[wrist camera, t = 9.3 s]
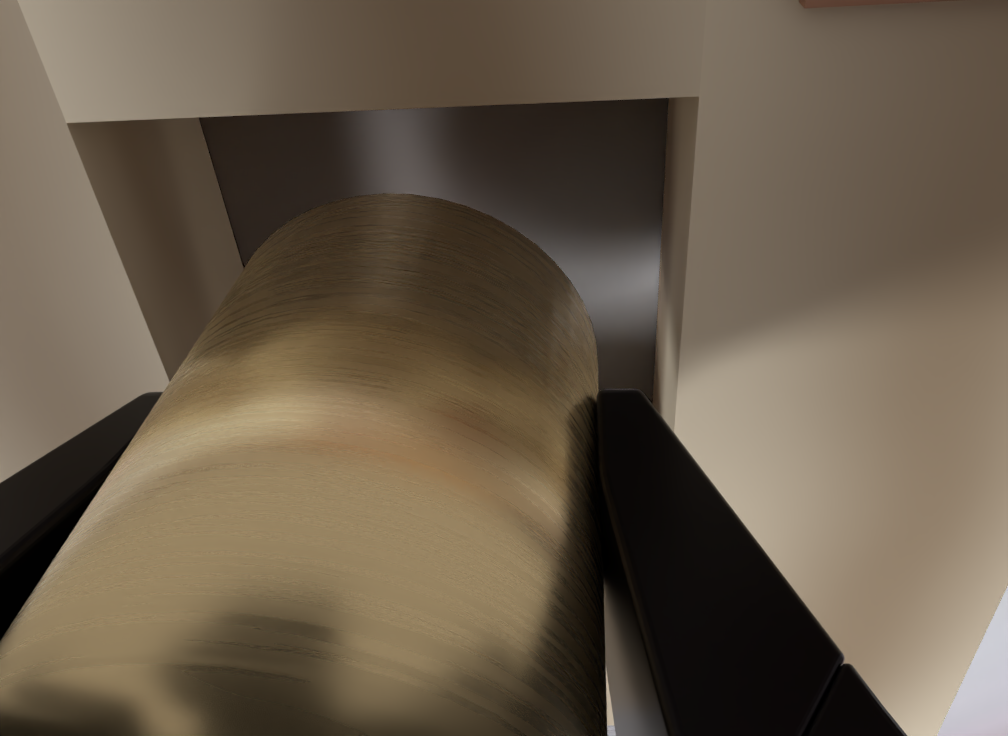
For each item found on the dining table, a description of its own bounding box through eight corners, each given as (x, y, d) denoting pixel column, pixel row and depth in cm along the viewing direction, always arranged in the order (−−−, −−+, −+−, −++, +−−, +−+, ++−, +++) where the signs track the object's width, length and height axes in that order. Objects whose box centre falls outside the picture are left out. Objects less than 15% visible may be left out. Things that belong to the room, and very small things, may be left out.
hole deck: (126, 584, 16) (53, 716, 13) (-420, -422, 7) (-843, -495, 5) (886, 599, 14) (940, 750, 12) (1304, -634, 6) (1729, -862, 4)
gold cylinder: (277, 492, 10) (85, 962, 6) (181, 199, 8) (-228, 658, 4) (598, 494, 10) (607, 996, 6) (597, 186, 7) (616, 684, 3)
